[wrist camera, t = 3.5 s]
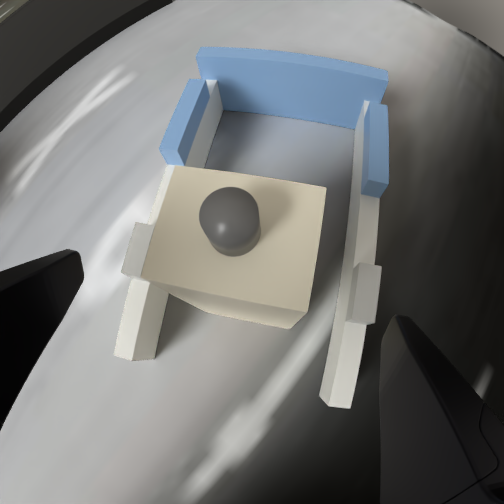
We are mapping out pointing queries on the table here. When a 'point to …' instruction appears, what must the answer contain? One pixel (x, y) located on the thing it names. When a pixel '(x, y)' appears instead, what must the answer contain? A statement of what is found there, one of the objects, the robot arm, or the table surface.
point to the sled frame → (292, 106)
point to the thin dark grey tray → (56, 42)
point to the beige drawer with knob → (237, 244)
